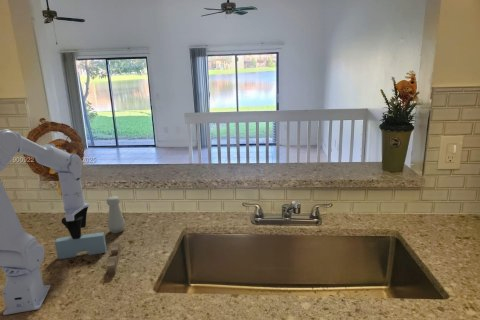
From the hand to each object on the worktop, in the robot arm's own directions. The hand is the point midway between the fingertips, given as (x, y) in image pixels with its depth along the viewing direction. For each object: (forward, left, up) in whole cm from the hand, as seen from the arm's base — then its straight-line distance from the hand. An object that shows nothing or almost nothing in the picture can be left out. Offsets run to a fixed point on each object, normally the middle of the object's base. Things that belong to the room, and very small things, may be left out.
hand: (79, 232), depth 106 cm
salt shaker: (+14, -9, -8) cm, 18 cm away
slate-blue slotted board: (0, 0, -7) cm, 7 cm away
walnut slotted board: (-8, -10, -7) cm, 15 cm away
